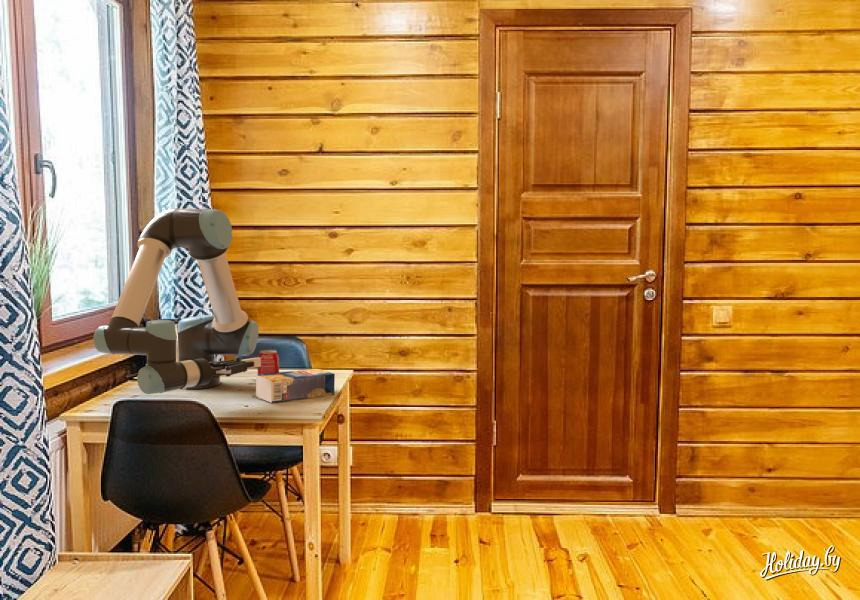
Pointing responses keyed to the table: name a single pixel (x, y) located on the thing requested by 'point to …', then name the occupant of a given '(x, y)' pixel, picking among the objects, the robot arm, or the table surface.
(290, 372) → the cardboard food box
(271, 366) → the soda can
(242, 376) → the table surface
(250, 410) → the table surface
